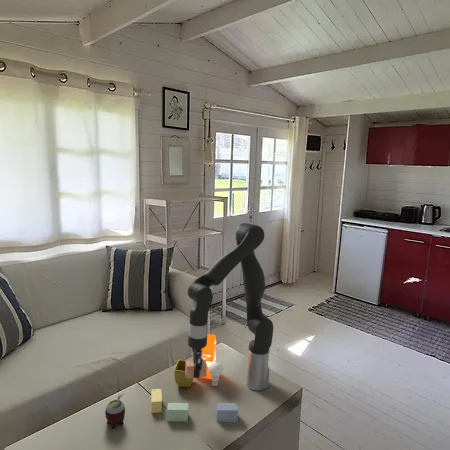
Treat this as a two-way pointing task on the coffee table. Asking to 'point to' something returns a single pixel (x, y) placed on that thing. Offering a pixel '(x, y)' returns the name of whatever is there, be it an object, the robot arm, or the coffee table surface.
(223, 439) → the coffee table surface
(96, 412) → the coffee table surface
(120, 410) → the mate gourd
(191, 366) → the terracotta brick
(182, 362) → the flower pot
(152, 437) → the coffee table surface
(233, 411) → the slate brick
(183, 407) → the sage brick
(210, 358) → the orange juice
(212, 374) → the lightbulb
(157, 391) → the ochre brick
